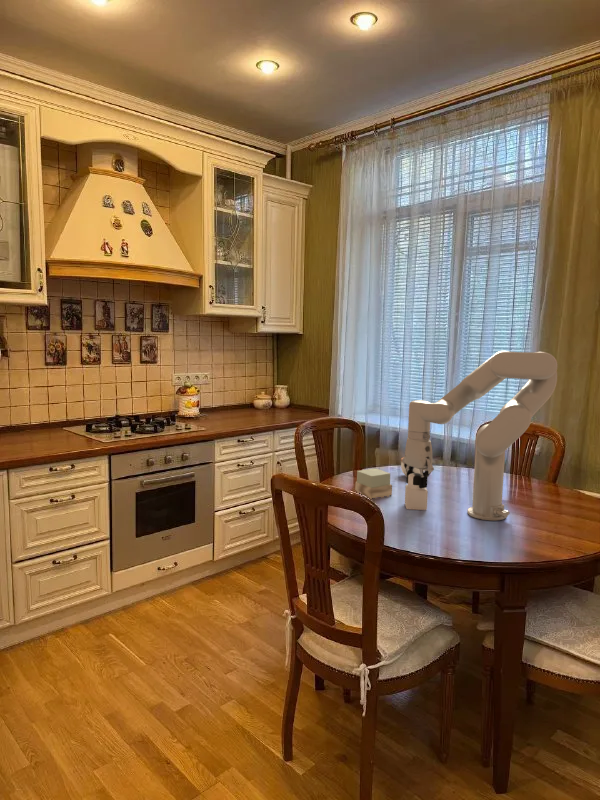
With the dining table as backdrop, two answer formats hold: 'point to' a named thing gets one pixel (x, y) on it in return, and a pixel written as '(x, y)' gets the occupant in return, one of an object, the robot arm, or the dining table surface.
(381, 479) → the tower top block
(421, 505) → the medicine bottle
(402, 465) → the lidded jar
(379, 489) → the tower bottom block
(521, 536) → the dining table surface
